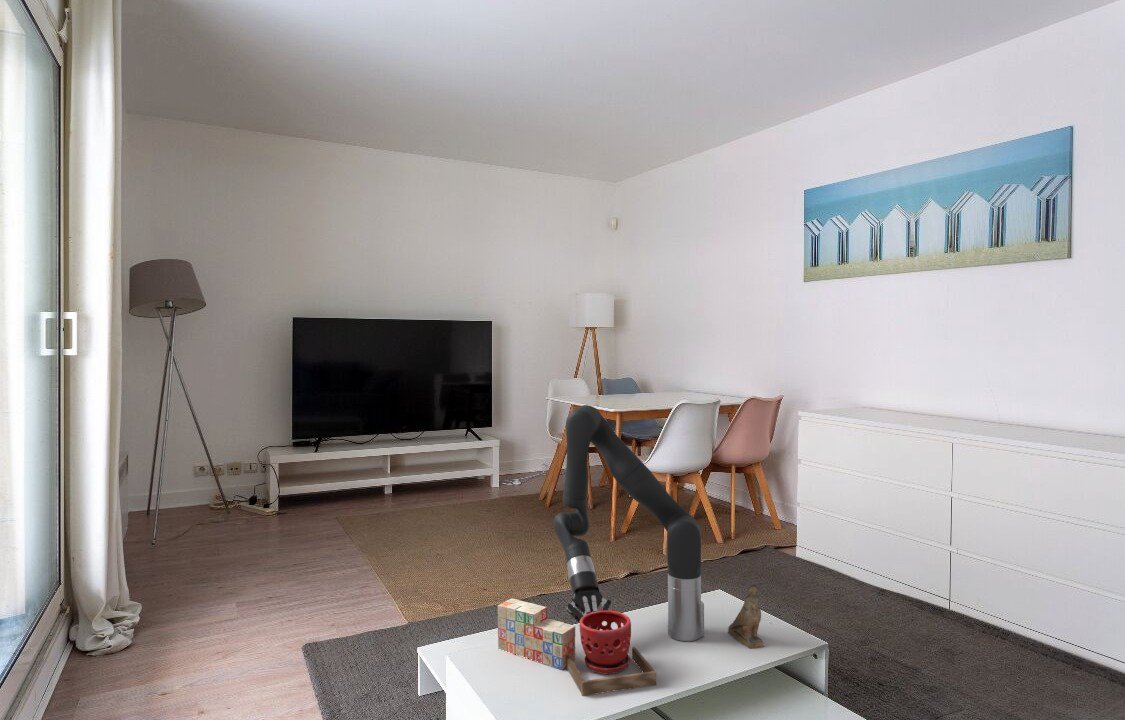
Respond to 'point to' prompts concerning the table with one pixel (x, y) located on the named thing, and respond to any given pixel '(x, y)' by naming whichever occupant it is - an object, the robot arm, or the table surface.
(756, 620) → the brown carved statuette
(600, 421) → the robot arm
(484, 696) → the table surface
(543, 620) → the stack of blocks
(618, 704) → the table surface
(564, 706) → the table surface
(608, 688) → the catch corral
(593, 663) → the plant pot
